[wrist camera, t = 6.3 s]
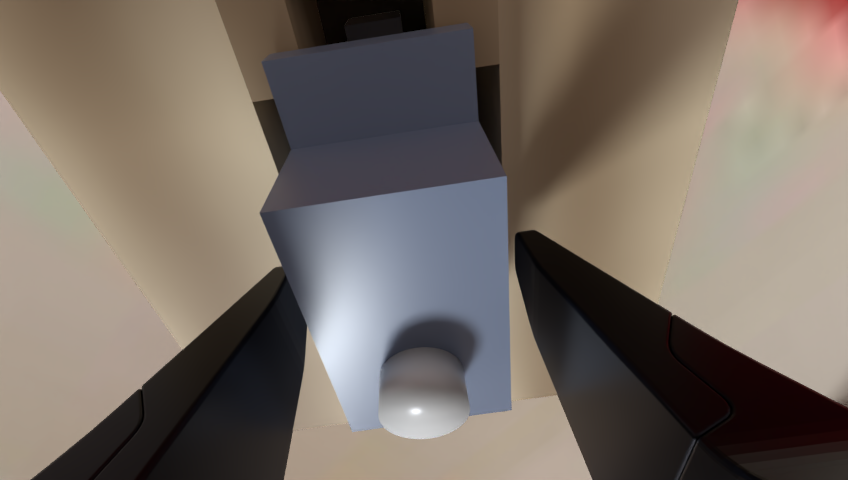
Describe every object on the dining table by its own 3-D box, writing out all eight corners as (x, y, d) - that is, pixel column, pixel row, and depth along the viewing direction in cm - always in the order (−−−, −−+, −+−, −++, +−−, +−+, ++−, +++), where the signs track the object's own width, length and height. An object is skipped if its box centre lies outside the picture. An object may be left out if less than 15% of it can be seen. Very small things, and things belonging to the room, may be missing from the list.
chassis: (679, -198, 8) (808, -263, 6) (598, 317, 16) (636, 384, 14) (20, -88, 8) (-137, -105, 6) (266, 363, 16) (243, 437, 14)
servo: (446, 2, 10) (522, 76, 4) (471, 278, 15) (520, 483, 9) (302, 25, 10) (185, 128, 4) (375, 292, 15) (365, 504, 9)
